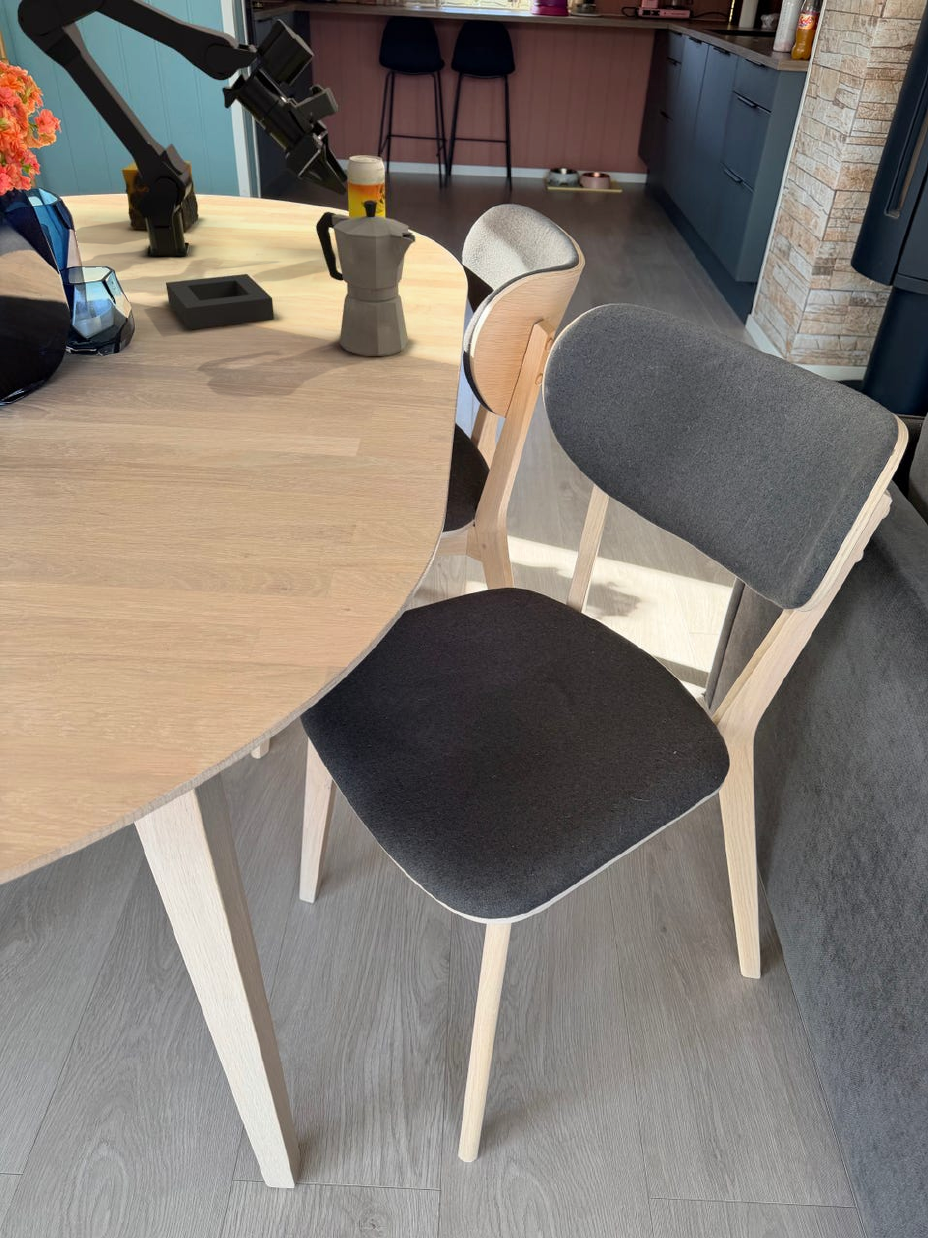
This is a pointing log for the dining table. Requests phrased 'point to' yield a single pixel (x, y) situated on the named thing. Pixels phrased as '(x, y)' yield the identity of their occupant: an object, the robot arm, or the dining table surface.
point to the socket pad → (219, 301)
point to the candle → (139, 190)
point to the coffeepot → (368, 278)
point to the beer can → (365, 184)
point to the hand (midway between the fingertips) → (345, 186)
